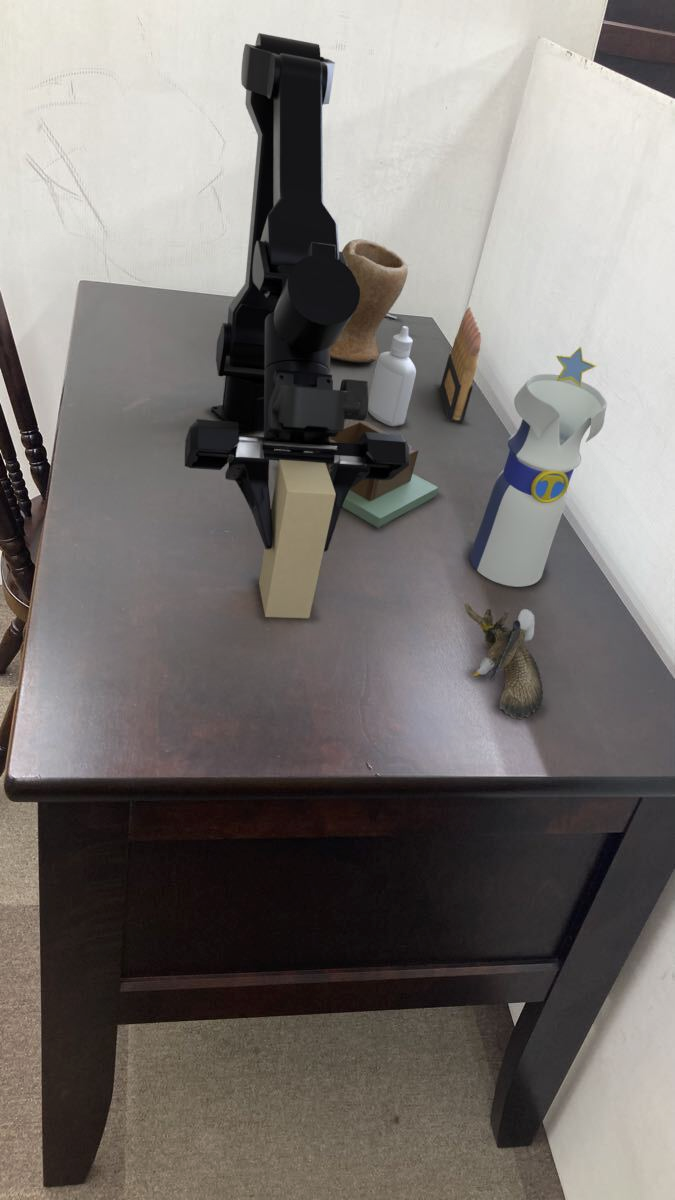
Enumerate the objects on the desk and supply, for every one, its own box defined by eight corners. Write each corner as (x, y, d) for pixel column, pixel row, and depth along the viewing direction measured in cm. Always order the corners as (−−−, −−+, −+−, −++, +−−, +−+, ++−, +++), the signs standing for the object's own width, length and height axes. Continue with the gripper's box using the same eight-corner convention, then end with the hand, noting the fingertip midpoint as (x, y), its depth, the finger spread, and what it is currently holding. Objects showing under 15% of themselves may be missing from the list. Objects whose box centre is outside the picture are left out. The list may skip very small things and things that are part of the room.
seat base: (279, 470, 99) (286, 428, 96) (341, 444, 107) (349, 404, 104) (377, 528, 93) (388, 485, 90) (435, 496, 101) (447, 456, 98)
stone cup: (396, 372, 127) (420, 267, 118) (315, 365, 124) (334, 256, 115) (372, 330, 138) (393, 231, 129) (297, 323, 135) (313, 220, 126)
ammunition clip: (462, 423, 117) (488, 336, 110) (449, 421, 117) (473, 333, 110) (452, 389, 126) (475, 306, 119) (440, 387, 126) (462, 303, 118)
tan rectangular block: (258, 582, 82) (279, 459, 74) (301, 584, 83) (325, 462, 75) (264, 617, 78) (287, 491, 71) (309, 618, 79) (336, 494, 72)
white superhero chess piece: (559, 591, 90) (652, 357, 74) (479, 587, 88) (557, 347, 73) (535, 543, 96) (616, 318, 81) (459, 539, 94) (527, 309, 79)
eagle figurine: (433, 636, 79) (469, 693, 71) (488, 576, 77) (531, 628, 69) (490, 675, 82) (530, 734, 74) (544, 619, 80) (590, 673, 73)
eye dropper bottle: (372, 425, 112) (392, 334, 105) (365, 405, 116) (384, 316, 109) (405, 429, 113) (427, 338, 106) (397, 409, 117) (418, 320, 110)
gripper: (198, 323, 67) (195, 526, 66) (431, 347, 72) (433, 538, 70) (185, 375, 78) (182, 551, 76) (388, 393, 83) (390, 560, 81)
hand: (296, 550), depth 76 cm, fingers open, 4 cm apart
